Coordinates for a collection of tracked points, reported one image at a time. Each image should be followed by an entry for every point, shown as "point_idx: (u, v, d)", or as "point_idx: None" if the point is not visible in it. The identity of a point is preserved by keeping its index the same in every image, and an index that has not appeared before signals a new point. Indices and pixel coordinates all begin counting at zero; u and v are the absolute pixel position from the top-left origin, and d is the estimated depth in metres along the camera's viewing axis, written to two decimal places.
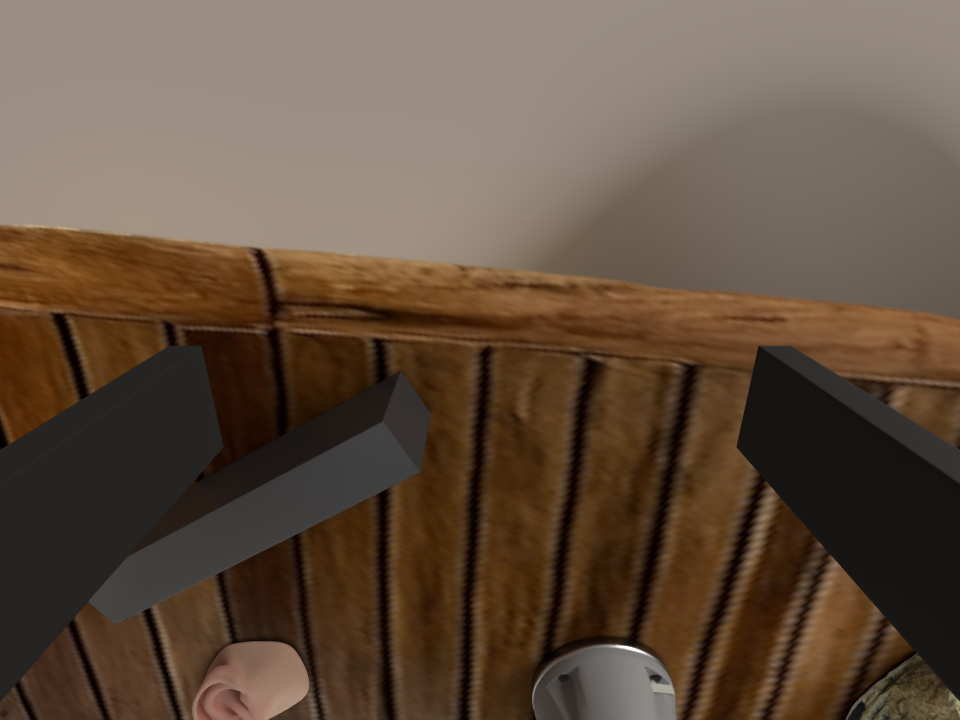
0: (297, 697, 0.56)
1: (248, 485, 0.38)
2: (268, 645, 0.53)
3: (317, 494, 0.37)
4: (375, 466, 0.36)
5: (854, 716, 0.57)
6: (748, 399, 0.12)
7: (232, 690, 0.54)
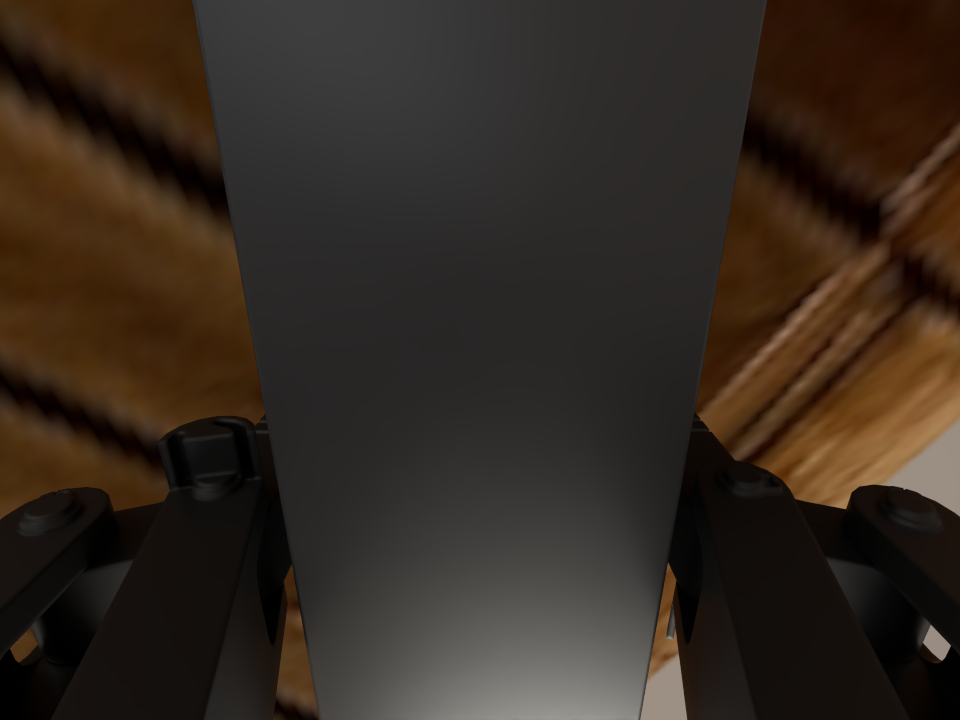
0: None
1: None
2: None
3: (453, 320, 0.05)
4: (451, 662, 0.07)
5: None
6: None
7: None
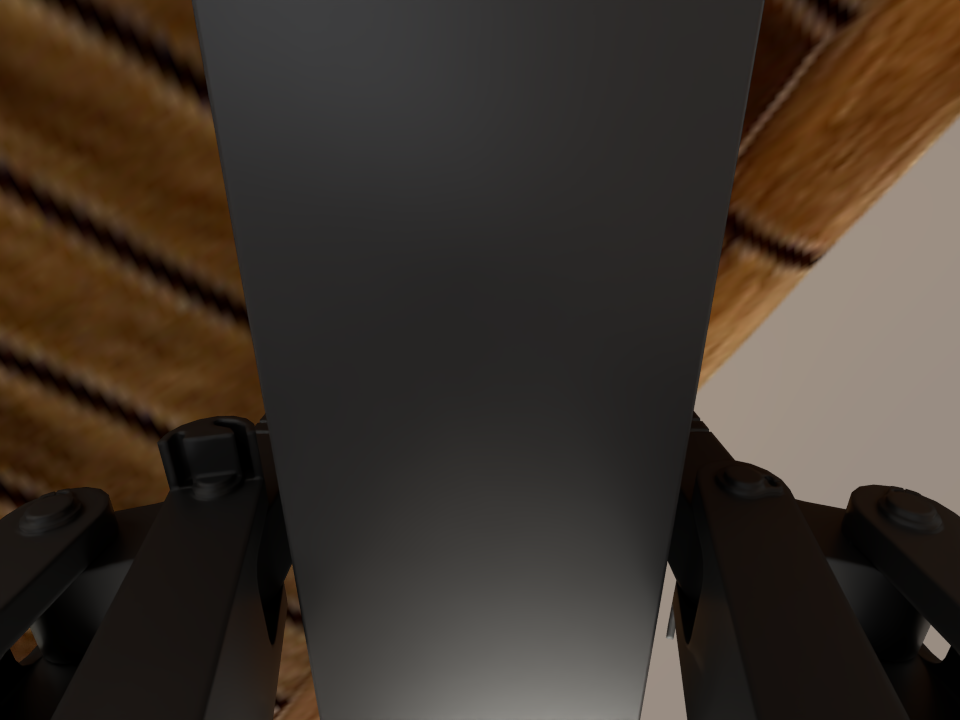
0: None
1: None
2: None
3: (453, 320, 0.05)
4: (452, 660, 0.07)
5: None
6: None
7: None
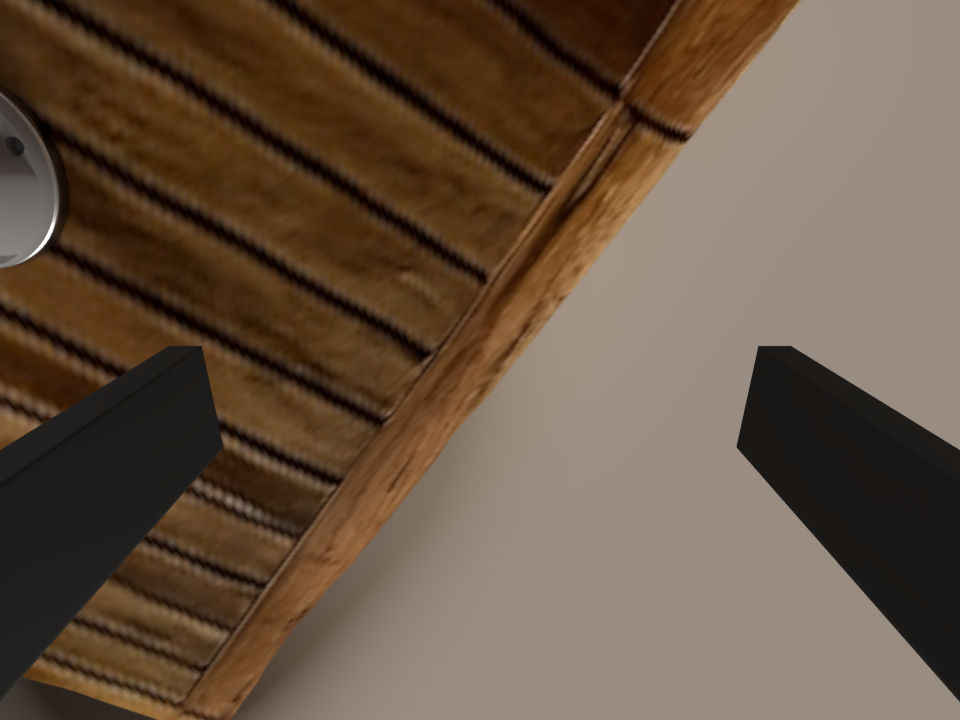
0: None
1: None
2: None
3: None
4: None
5: None
6: (748, 399, 0.12)
7: None
